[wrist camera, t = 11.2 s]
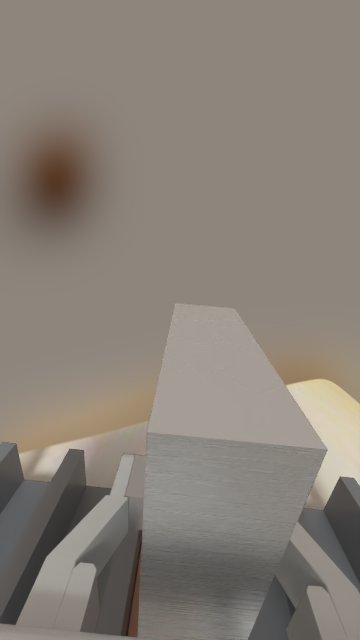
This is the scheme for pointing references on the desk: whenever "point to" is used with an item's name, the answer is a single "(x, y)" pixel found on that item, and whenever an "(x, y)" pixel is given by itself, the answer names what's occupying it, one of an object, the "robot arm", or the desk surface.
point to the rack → (135, 544)
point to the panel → (218, 480)
